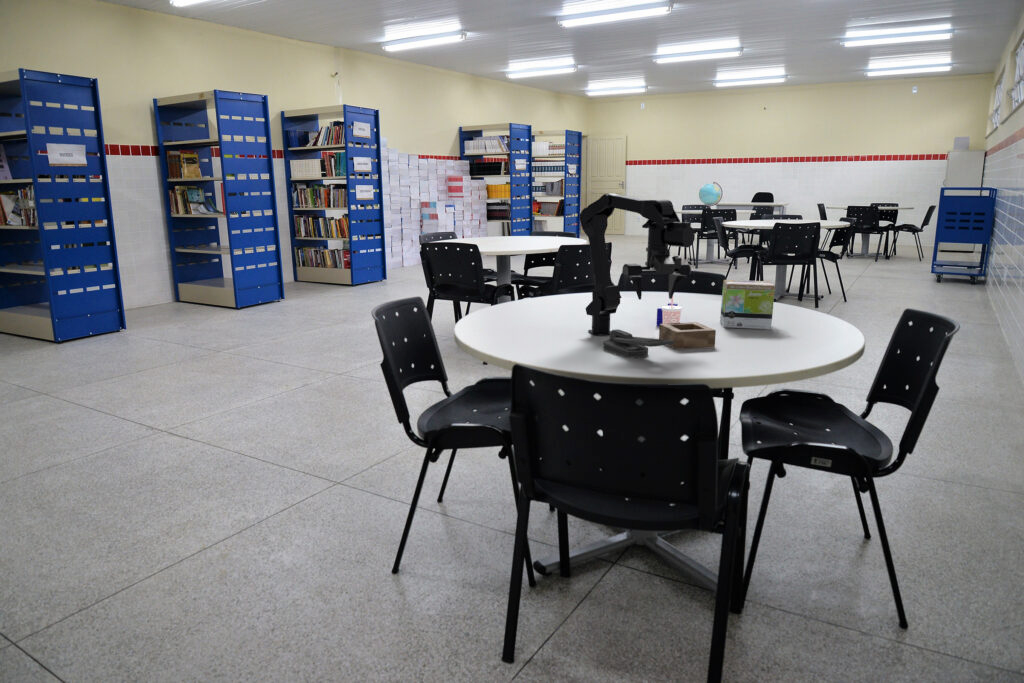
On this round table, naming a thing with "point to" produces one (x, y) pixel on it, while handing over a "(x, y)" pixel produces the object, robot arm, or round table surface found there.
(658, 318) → the blue piece
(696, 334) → the walnut well block
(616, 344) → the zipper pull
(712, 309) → the round table surface
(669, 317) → the beverage cup
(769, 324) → the tea box
